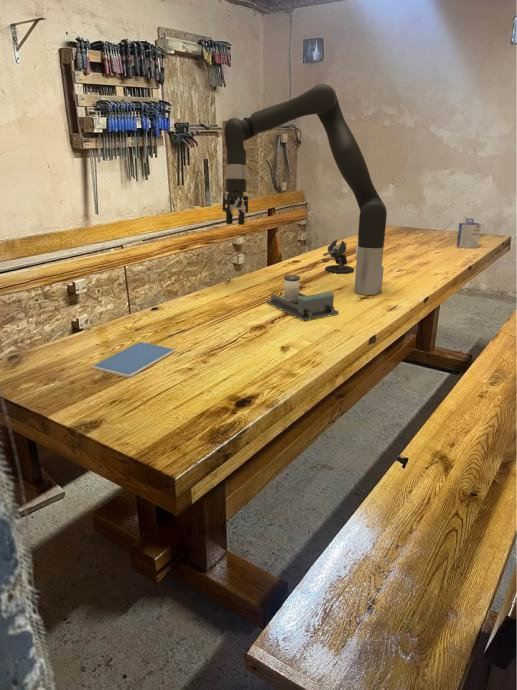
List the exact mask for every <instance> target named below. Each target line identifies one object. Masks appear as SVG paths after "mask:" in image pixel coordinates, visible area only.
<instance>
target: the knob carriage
mask: <svg viewBox="0 0 517 690" xmlns="http://www.w3.org/2000/svg"><path fill="white" fill-rule="evenodd" d="M283 280H284V284H283V285H284V291H283V294H284V295H280V296H279V297H281V298H283V299H285V300H288V301H290V302H292V303H298V297H301V296H299V293H300V280H301V276H300V275H297V274H287V275H284V276H283Z"/></svg>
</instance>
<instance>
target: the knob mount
mask: <svg viewBox="0 0 517 690" xmlns="http://www.w3.org/2000/svg"><path fill="white" fill-rule="evenodd" d="M299 296H301V297H298V303H292V302H290V301H288V300H285V299H283V298H281V297H279V296H278V295H276V294H271V295H270V299H269V300H266V303H268V304H267V305H269V304H270V305H269V306H271V305H273V306H275V307H277V308H279V309H282V310H283V311H286V312H288V313H290V314H292V315H294V316H296V317H298V318H300V319H302V320H309V319H313V320H315V319H314V318H318V317H323V316H328V315H333V316H335V315H334V314H337V315H339V313H340V312H339V311H338V310H336V309H335V306H334V301H335V299H334V298H335V294H334V293H332V292H329V291H326V292H319V293H315V294H309V295H306V294H304V293H302V292H299ZM273 306H272V307H273ZM275 307H274V308H275ZM277 308H276V309H277ZM279 309H278V310H279ZM283 311H282V312H283ZM294 316H293V317H294ZM296 317H295V318H296ZM328 317H329V316H328ZM298 318H297V319H298ZM323 318H324V317H323ZM300 319H299V320H300ZM318 319H319V318H318ZM302 320H301V321H302ZM309 321H310V320H309Z"/></svg>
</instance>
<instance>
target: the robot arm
mask: <svg viewBox="0 0 517 690" xmlns="http://www.w3.org/2000/svg"><path fill="white" fill-rule="evenodd" d="M311 115H317V118H319V119H318V120H319V121H320V122H321V124H322V126H323V129H324V131H325V133H326V136H327V137H326V138H327V140H328V145H329V147H330V151H331V154H332V158H333V160H334V162H335V164H336V166H337V168H338V170H339V172H340V174H341V176H342V178H343V179H344V181H345V182H346V183H347V185H348V187H349V188H350V189H351V191H352V193H353V195H354V198H355V200H356V203H357V206H358V209H359V220H358V233H357V242H358V249H357V258H356V262H355V263H356V264H355V278H354V279H355V280H354V292H355V293H356V294H359V295H363V296H375V295H378V294H380V293H382V290H383V278H384V277H383V276H384V269H385V268H384V266H383V259H384V258H383V257H384V247H385V245H384V244H385V237H386V228H387V227H386V225H387V218H388V217H387V213H388V212H387V211H388V210H387V207H386V205H385V203H384V201H383V200H382V199H381V197H380V194H379V193H378V191H377V190H376V188H375V186H374V184H373V181H372V179H371V174H370V172H369V169H368V165H367V163H366V161H365V157H364V156H363V155H364V154H363V153H362V150H361V148H360V146H359V144H358V143H357V140H356V138H355V136H354V135H353V133H352V131H351V128H350V127H349V126H348V124H347V122H346V120H345V117H344V114H343V111H342V109H341V106H340V103H339V100H338V96H337V92H336V90H335V89H334V88H333V87H332V86H331V85H329V84H326V83H318V84H316V85H315V86H314V87H312V88H311V89H309V90H307V91H305V92H303V93H301V94H300V95H298V96H296V97H293V98H291V99H289V100H287V101H286V100H285V101H283V102H280V103H278V104H275V105H274V104H273V105H271V106H269V107H264V108H262V109H259V110H257V111H254V112H253V113H252V114H251V115H250V117H247V118H246V119H242V120H241V119H239V118H236V117H231V118H229V119H228V120H227V121H226V123H225V125H224V142H225V149H226V167H225V192H226V193H223V195H222V212H225V214H226V216H225V223H226V224H227V225H232V224H233V218H234V217H233V216H234V215H233V212H234V211H235V209H236V210H237V212H238V219H237V220H238V221H237V222H238V225H240V226H244V225H245V215H246V214H248V213H249V197H248V195H247V196H246V195H244V193H246V192H247V183H248V182H247V178H248V175H247V173H248V172H247V152H246V149H245V145H244V142H245V141H247V140H250V139H252V138H253V137H255V136H257V135H259V134H260V133H264V132H268V131H270V130H273V129H275V128H278V127H280V126H282V125H284V124H287V123H288V122H291V121H293V120H297V119H298V118H301V117H305V116H311Z"/></svg>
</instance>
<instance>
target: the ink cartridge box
mask: <svg viewBox="0 0 517 690" xmlns="http://www.w3.org/2000/svg"><path fill="white" fill-rule="evenodd" d="M481 228H482V224H481V223H478V222H474V218H466V220H465V222H459V224H458V231H457V239H456V247H457V248H459V249H468V248H469V249H477V248H478V247H479V241H480V234H481Z"/></svg>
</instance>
